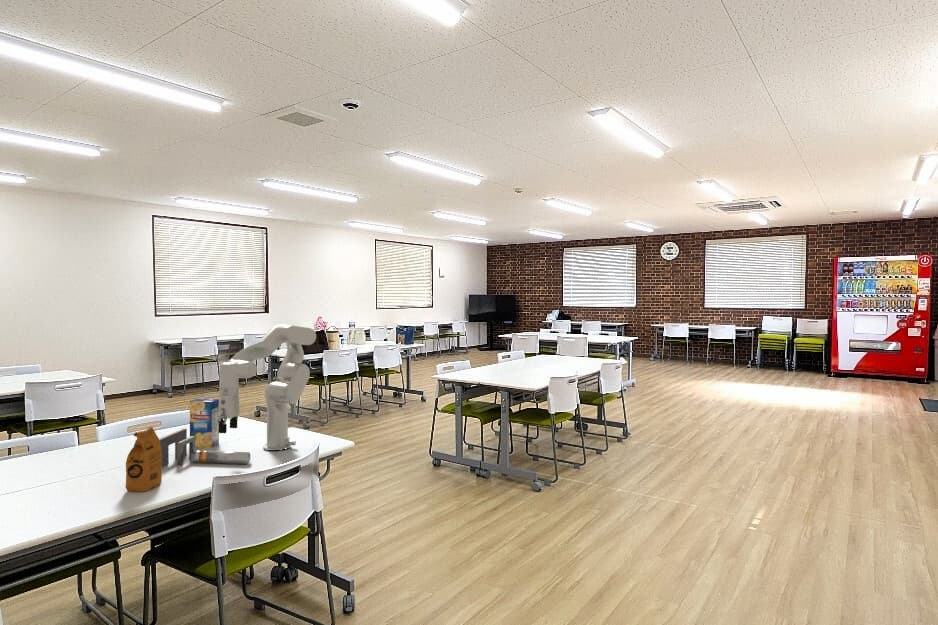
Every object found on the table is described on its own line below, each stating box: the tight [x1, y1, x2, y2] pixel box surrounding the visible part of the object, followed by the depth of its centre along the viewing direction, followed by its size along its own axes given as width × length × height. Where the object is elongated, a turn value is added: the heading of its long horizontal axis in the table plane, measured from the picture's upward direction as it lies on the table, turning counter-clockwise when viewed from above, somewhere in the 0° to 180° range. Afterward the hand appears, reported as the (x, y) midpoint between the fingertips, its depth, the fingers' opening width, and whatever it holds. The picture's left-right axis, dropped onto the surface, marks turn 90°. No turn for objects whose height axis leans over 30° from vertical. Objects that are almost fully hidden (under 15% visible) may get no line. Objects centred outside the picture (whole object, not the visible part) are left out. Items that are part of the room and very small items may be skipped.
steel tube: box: [190, 449, 252, 465], centre depth 243 cm, size 24×5×5 cm, turn 87°
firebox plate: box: [158, 427, 188, 468], centre depth 244 cm, size 2×20×12 cm, turn 177°
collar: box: [176, 436, 196, 466], centre depth 244 cm, size 2×11×10 cm, turn 177°
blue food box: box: [189, 398, 220, 448], centre depth 270 cm, size 7×11×22 cm, turn 86°
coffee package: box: [125, 426, 163, 493], centre depth 212 cm, size 10×12×22 cm
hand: (228, 430), depth 242 cm, fingers open, 9 cm apart
